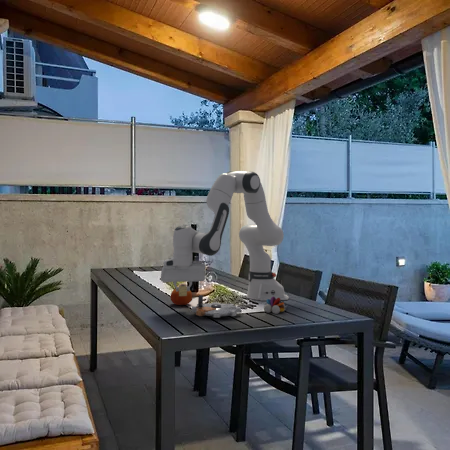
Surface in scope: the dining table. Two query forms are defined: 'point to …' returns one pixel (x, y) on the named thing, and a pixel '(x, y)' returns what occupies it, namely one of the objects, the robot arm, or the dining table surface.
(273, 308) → the multicoloured rounded cluster
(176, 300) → the fruit
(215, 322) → the dining table surface
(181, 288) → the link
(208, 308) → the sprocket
